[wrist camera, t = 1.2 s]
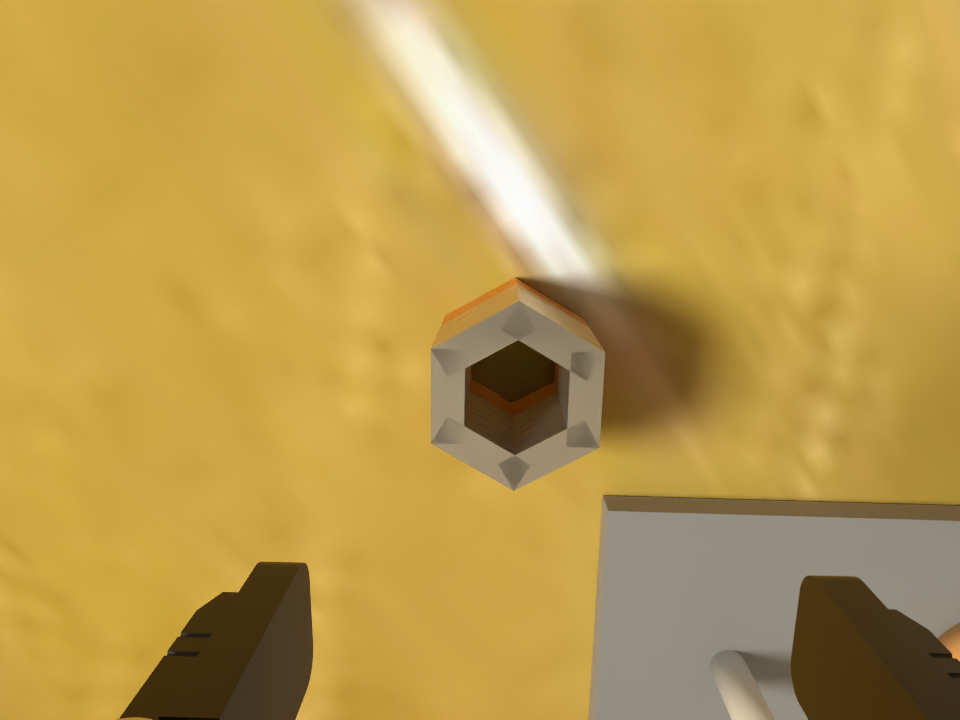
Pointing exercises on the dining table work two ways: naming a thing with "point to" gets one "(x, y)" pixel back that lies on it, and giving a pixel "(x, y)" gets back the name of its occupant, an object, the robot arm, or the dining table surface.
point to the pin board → (747, 595)
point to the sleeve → (533, 418)
